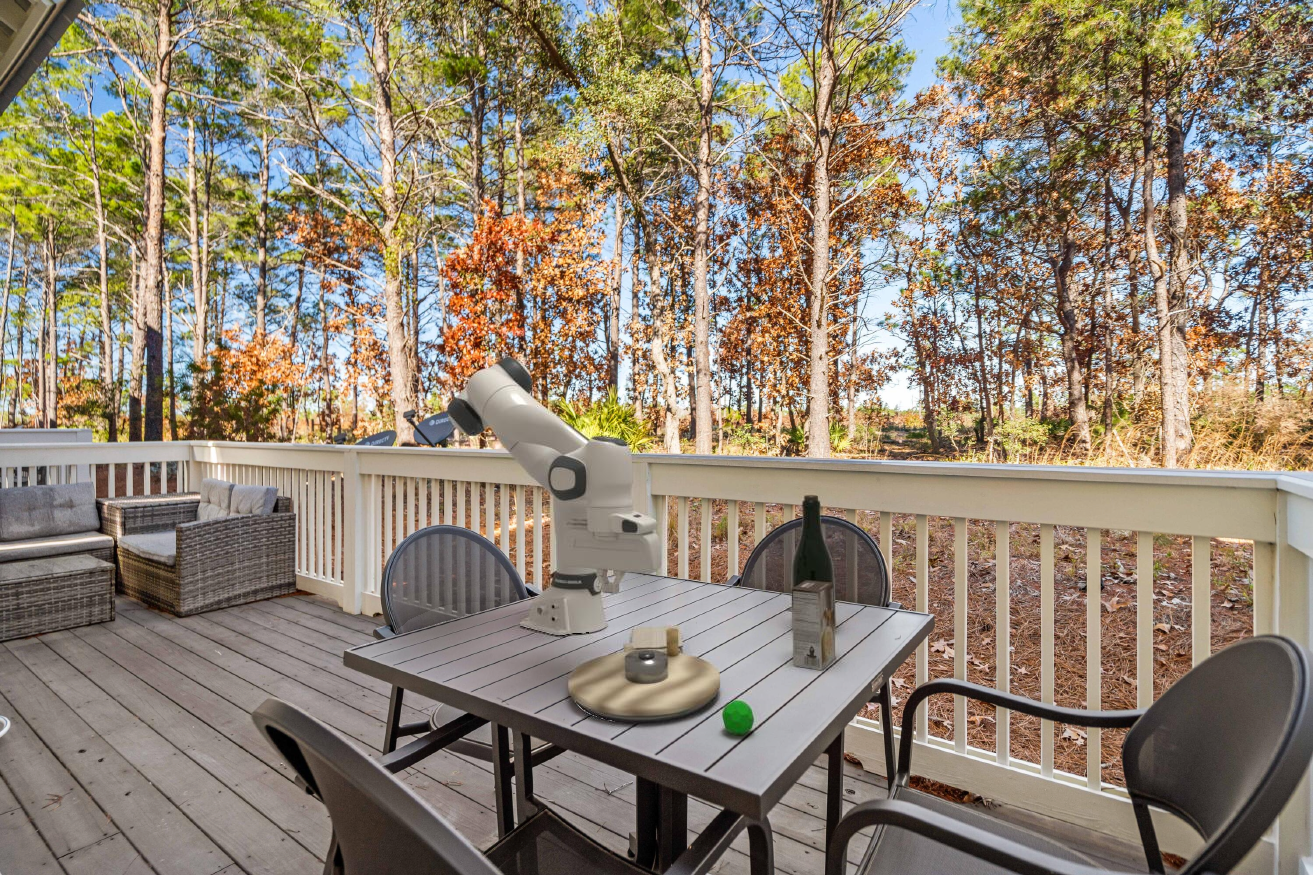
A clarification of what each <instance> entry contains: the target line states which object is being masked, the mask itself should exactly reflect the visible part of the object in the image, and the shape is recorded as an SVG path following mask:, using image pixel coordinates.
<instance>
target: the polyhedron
mask: <svg viewBox="0 0 1313 875" xmlns="http://www.w3.org/2000/svg"><path fill="white" fill-rule="evenodd" d="M721 714H722V715H721V716H722V721H723V725H724V728H725V729H726V730H727V731H728V732H729V733H731V734H733V735H738V736H742V735H744V734H746V733H747V732H748V731H750V730H751V729H752V728H753V725H754V723H755V718H754V714H753V711H752V707H750V705H748V704H747V703H746V702H745V701H743V700H733V701H732V702H730V703H729V704H727V705H726V706H725V707H723V710H722V713H721Z"/></svg>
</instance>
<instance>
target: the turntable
mask: <svg viewBox="0 0 1313 875" xmlns="http://www.w3.org/2000/svg"><path fill="white" fill-rule="evenodd" d="M666 637H667V651H661V652H664V653H666V654H667V655H668V678H667V679H666V680H664V681H662V682H658V683H653V684H638V683H633V682H630V681H628V680H627V679H626V678H625V656H626V655H627V654H629V653H631V652H634V651H630V652H624V651H622V652H617V653H612V654H606V655H602V656H599V657H596V658H593V659H590V660H588V661H586V662H583V663H582V664H580V665H579V666H576V667H575V668H574V669H573V670H572V671H571V673H570V674H569V676H568V680H567V681H568V682H567V683H568V686H567V687H568V694H569V695H570V697H571V698H572V700H574V702H575V701H576V702H578V703H579V704H581V705H583V706H585V707H587V708H590V709H593V710H596V711H599V712H603V713H608V714H614V715H623V716H656V715H665V714H672V713H677V712H682V711H685V710H689V709H692V708H695V707H698V706H700V705H702V704H704V703H706V702H708V701H709V700H711V699H712V698H713V697H714V696H716V695H717V694H718V693H719V691H720V688H721V674H720V671H719V669H717V668H716V667H715V665H713V664H712V663H710V662H709V661H707V660H704V659H702V658H700V657H696V656H693V655H690V654H686V653H683V652H682V653H679V650H678V629H675V628H670V629H667V630H666ZM714 698H715V697H714Z"/></svg>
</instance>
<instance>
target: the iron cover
mask: <svg viewBox="0 0 1313 875" xmlns="http://www.w3.org/2000/svg"><path fill="white" fill-rule="evenodd" d="M625 678H626V679H627V680H628V681H630V682H633V683H638V684H653V683H658V682H662V681H664V680H666V679H667V678H668V655H667V654H666V653H664V652H661V651H657V650H639V651H634V652H631V653H629V654H627V655H626V656H625Z"/></svg>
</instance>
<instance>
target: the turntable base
mask: <svg viewBox="0 0 1313 875" xmlns="http://www.w3.org/2000/svg"><path fill="white" fill-rule="evenodd" d="M630 651H633V646H632V644H631V642H629V643H628V642H627V643H623V652H630ZM715 696H716V695H715ZM715 696H714V697H713V698H712V699H711V700H709V701H708V702H706V703H704V704H702V705H700V706H698V707H695V708H692V709H689V710H685V711H682V712H677V713H672V714H665V715H656V716H623V715H614V714H608V713H603V712H599V711H596V710H593V709H590V708H587V707H585V706H583V705H581V704H579V703H578V702H576V703H577V704H578V705H579V706H580V707H581V708H582V709H583V710H585V711H586V712H588V713H590V714H592V715H594V716H597V717H599V718H598V719H600V718H603V719H605V720H604V721H607V720H612V721H615V722H614V723H618V722H621V723H620V724H627V725H629V724H631V725H632V724H633V725H649V724H660V723H661V724H662V723H668V722H673V721H678V720H682V719H686V718H688V717H692V716H694V715H697V714H698V713H700V712H702V711H704V710H705V709H707V708H708V707H709V706H710V705H711V704H712V703H713V701H714V699H715ZM576 703H575V704H576ZM594 716H593V717H594ZM597 717H596V718H597ZM603 719H602V720H603ZM612 721H611V722H612Z"/></svg>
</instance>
